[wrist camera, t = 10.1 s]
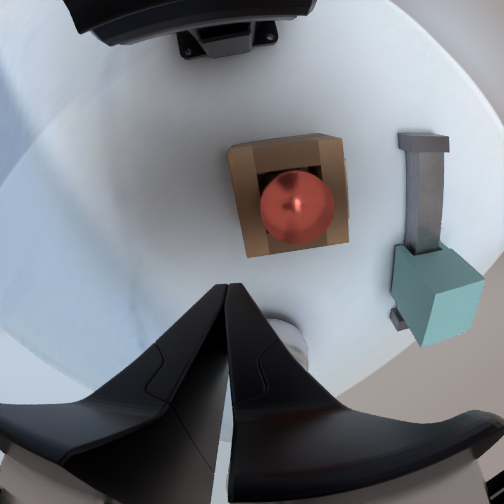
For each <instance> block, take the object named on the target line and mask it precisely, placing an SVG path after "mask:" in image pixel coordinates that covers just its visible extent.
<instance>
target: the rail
mask: <svg viewBox="0 0 504 504" xmlns="http://www.w3.org/2000/svg"><path fill="white" fill-rule="evenodd" d="M398 138H399V149H401V150H405V151H406V170H407V205H406V229H405V244H404V247H405V248H406V249H407V250H408V251H409V252H410V253H411V254H412V255H413V256H416V255H421V254H426V253H431V252H436V251H438V247H439V239H440V230H441V220H442V207H443V189H444V152H449V137H448V136H443V135H438V134H425V133H398ZM397 306H398V305H397ZM390 319H391V321H392V323H393V324H394V326H395V328H396V330H397V331H401V330H404V329H408V328H409V327H408V325H407V324H406V322H405V320H404V319H403V317H402V316H401V314H400V312H399V311H398V309H397V308H394V309H391V315H390Z"/></svg>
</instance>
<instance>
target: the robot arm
mask: <svg viewBox="0 0 504 504" xmlns="http://www.w3.org/2000/svg"><path fill="white" fill-rule="evenodd" d="M63 1H64V3H65V5H66V6H67V8H68V10H69V11H70V14H71V16H72V19H73V22H74V24H75V27H76V29H77V31H78V33H79V34H83V33H85V32H88V31H91V33H92V34H93V35H94V36H95V37H96V38H97V39H98V40H100V41H102V42H103V43H105V44H107V45H109V46H115V45H117V44H120V45H131V44H134V43H138V42H141V41H144V40H148V39H151V38H155V37H159V36H163V35H167V34H171V33H177V39H178V45H179V51H180V55H181V57H183V58H184V59H186V60H190V59H194V58H198V57H202V56H207V55H208V56H209V57H211V58H217V57H222V56H227V55H233V54H238V53H245V52H249V51H250V50H251V49H252V47H258V46H266V45H273V44H275V43H276V42H277V41H278V33H277V28H276V24H275V20H293V19H295V18H296V17H297V16H307V15H308V14H309V13H310V12H312V11H313V9H314V6H315V4H316V1H317V0H63ZM269 35H270V36H273V37H274V39H273V40H268V39H267V36H269ZM187 50H191V54H190V55H185V52H186V51H187ZM228 375H229V378H230V389H231V400H232V407H233V408H232V410H233V436H232V446H231V457H230V467H229V478H228V502H229V503H230V504H504V470H503V471H502V472H500V473H499V474H498V475H496V476H495V477H493V478H492V479H491V480H489V481H487V482H486V483H485V480H484V478H483V475H482V472H481V470H480V467H479V464H478V461H477V459H478V458H479V457H480V456H481V455H483V454H484V453H485V452H486V451H487V450H488V449H490V448H491V447H492V446H493V445H494V444H495V443H496V442H497V441H498V440H499V439H500V438H501V437H502V436H503V435H504V419H503V418H502V417H500V416H498V415H496V414H493V413H490V412H483V411H480V410H471V411H467V412H465V413H462V414H460V415H458V416H455V417H453V418H451V419H448V420H445V421H442V422H437V423H428V424H419V423H411V422H405V421H400V420H395V419H390V418H385V417H380V416H376V415H371V414H367V413H362V412H359V411H355V410H352V409H350V408H348V407H346V406H345V405H343V404H342V403H340V402H339V401H338V400H337V399H335V398H334V397H333V396H332V395H331V394H330V393H329V392H328V391H327V390H326V389H325V388H324V387H323V386H322V385H321V384H320V383H319V382H318V381H317V380H316V379H315V378H314V377H313V376H312V375H311V374H309V373H308V372H307V371H306V370H305V368H304V367H303V366H302V365H301V364H300V363H299V362H298V361H297V360H296V359H295V358H294V356H293V355H292V354H291V353H290V351H289V350H288V349H287V347H286V346H285V345H284V343H283V342H282V340H280V338H279V336H278V335H277V333H276V332H275V331H274V329H273V328H272V326H271V325H270V323H269V322H268V321H267V319H266V318H265V316H264V315H263V313H262V312H261V310H260V309H259V308H258V306H257V305H256V303H255V302H254V300H253V299H252V297H251V296H250V294H249V293H248V292H247V290H246V289H245V287H244V286H243V284H242V283H231V284H229V285H228V284H216V285H214V286H213V287H212V288H211V289H210V290H209V291H208V292H207V293H206V294H205V295H204V296H203V297H202V298H201V299H200V300H199V301H197V302H196V303H195V304H194V305H193V306H192V307H191V308H190V309H189V310H188V311H187V312H186V313H185V314H184V315H183V316H182V317H181V318H180V319H179V320H178V321H176V322H175V323H174V324H173V325H172V326H171V327H170V328H169V329H168V330H167V331H166V332H165V333H164V334H163V335H162V336H161V337H160V338H159V339H158V340H157V341H155V343H153V344H152V345H151V346H150V347H149V348H148V349H147V350H146V351H145V352H144V353H143V354H141V355H140V356H139V357H138V358H137V359H136V360H135V361H134V362H132V363H131V364H130V365H129V366H127V367H126V368H125V369H124V370H122V371H121V372H120V373H119V374H117V375H116V376H115V377H113V378H112V379H111V380H109V381H108V382H107V383H105V384H104V385H103V386H102V387H100V388H99V389H98V390H96V391H95V392H94V393H92V394H91V395H89V396H88V397H86V398H84V399H83V400H80V401H77V402H73V403H65V404H42V405H41V404H38V405H15V404H2V403H0V450H1V451H2V452H3V453H5V455H4V458H3V460H2V462H1V465H0V504H210V503H211V496H212V488H213V480H214V473H215V466H216V459H217V452H218V445H219V438H220V431H221V424H222V417H223V410H224V403H225V396H226V389H227V382H228Z"/></svg>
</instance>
